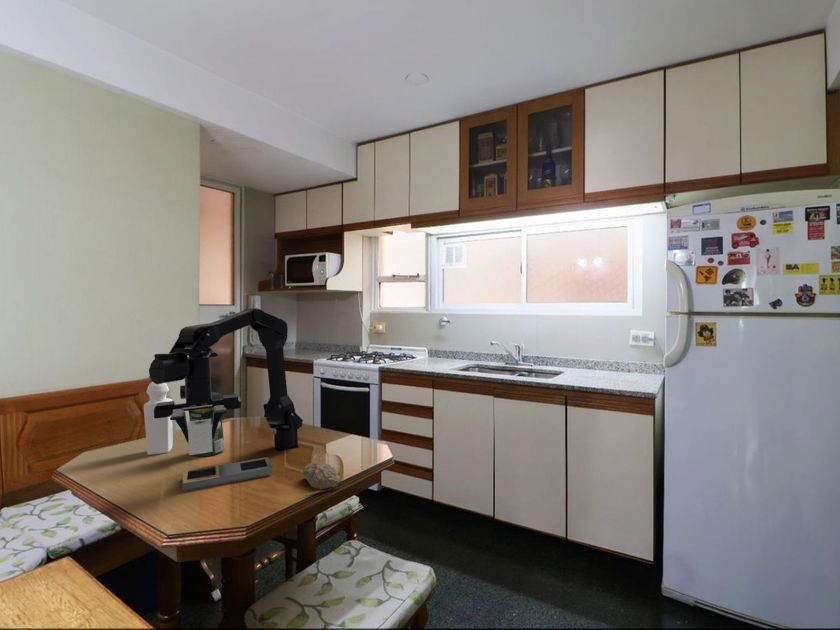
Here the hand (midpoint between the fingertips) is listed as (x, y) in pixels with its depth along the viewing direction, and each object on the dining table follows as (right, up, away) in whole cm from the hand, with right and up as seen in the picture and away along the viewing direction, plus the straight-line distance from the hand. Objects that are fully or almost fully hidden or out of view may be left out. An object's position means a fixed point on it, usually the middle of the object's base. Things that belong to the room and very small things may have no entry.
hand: (200, 440), depth 107 cm
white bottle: (-26, -11, +27) cm, 39 cm away
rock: (+31, -10, -2) cm, 32 cm away
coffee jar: (-10, -11, +24) cm, 28 cm away
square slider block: (0, -3, 0) cm, 3 cm away
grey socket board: (+6, -10, +3) cm, 12 cm away
